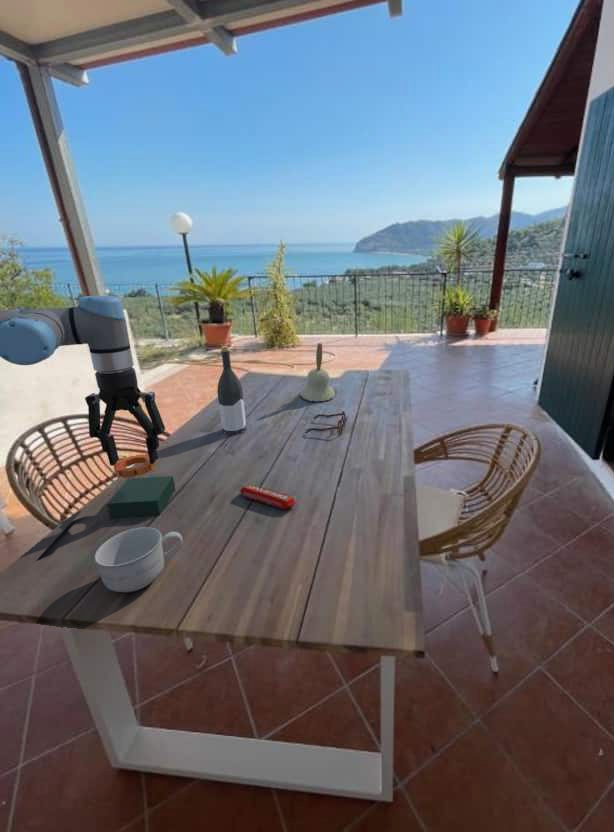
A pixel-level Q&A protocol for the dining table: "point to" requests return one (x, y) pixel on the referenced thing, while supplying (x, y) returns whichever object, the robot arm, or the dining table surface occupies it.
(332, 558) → the dining table surface
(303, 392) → the handbell
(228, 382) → the wine bottle
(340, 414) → the glasses
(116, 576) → the teacup
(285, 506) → the candy bar
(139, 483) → the block
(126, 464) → the ring
